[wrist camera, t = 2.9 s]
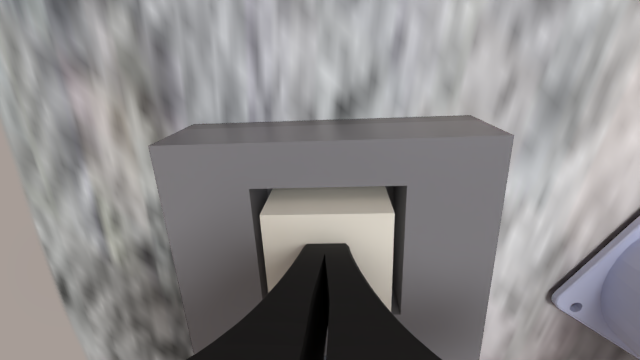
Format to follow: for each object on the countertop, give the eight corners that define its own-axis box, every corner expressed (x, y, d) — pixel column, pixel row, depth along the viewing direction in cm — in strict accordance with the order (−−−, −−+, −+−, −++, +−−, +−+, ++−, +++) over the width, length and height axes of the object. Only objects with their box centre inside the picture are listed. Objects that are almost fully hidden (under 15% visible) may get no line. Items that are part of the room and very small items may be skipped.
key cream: (274, 185, 13) (259, 215, 10) (384, 183, 12) (394, 213, 10) (283, 276, 14) (271, 321, 12) (381, 276, 14) (390, 322, 11)
